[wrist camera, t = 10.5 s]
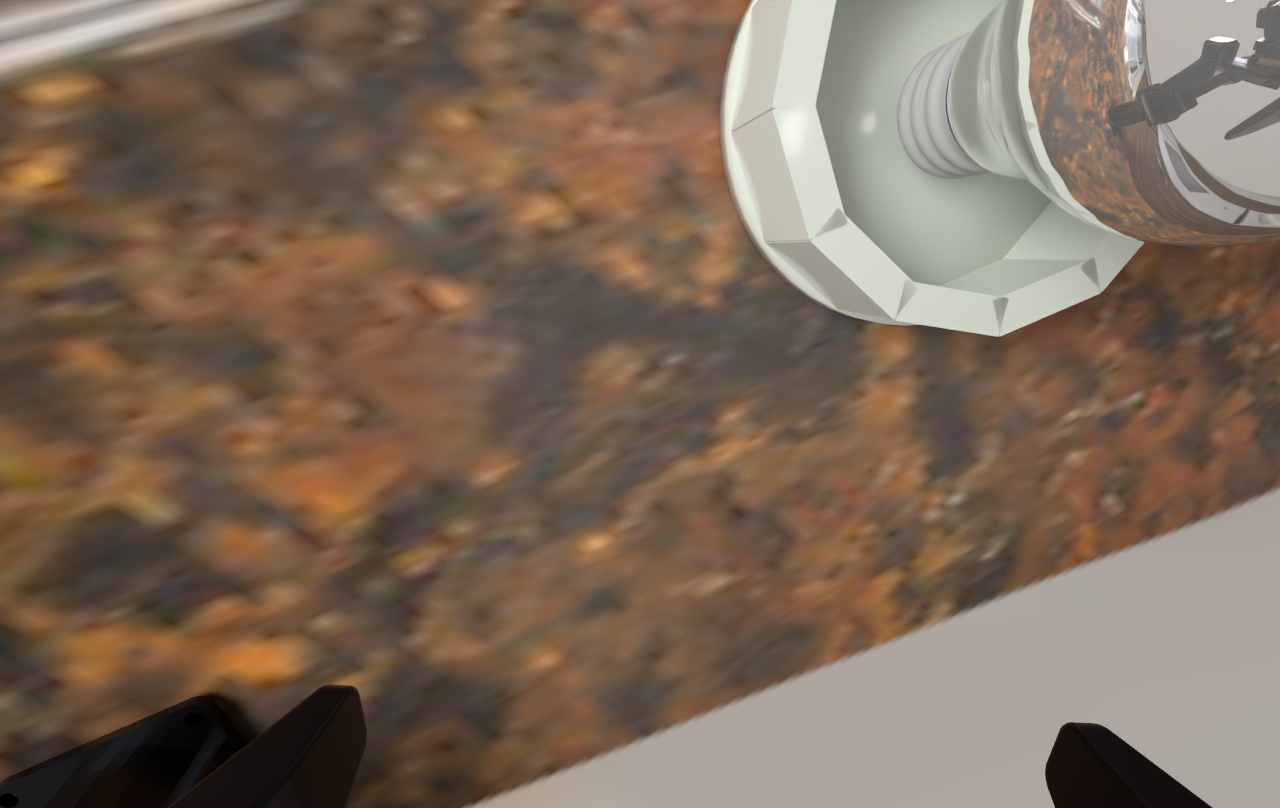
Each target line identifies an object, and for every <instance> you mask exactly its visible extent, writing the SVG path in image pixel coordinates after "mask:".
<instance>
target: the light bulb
mask: <svg viewBox="0 0 1280 808" xmlns="http://www.w3.org/2000/svg"><path fill="white" fill-rule="evenodd" d="M897 125H898V132H899V136H900V140H901V143H902V145H903V147H904V149H905V151H906V153H907V155H908V156H909V158H910V159H911V160H912V161H913V162H914V164H916V165H917V166H918V167H919V168H920V169H922V170H923V171H925V172H926V173H929V174H931V175H933V176H936V177H940V178H949V179H953V178H963V177H967V176H974V175H980V174H984V173H994V174H998V175H1002V176H1006V177H1010V178H1015V179H1027V180H1028V181H1029V182H1030V183H1032V184H1033V185H1034V186H1035V187H1036V188H1037V189H1038V190H1039V191H1040V192H1041V193H1042V194H1044V195H1045V196H1046V197H1047V198H1048V199H1049V200H1051V201H1052V202H1053V203H1055V204H1056V205H1057V206H1059V207H1060V208H1061V209H1063V210H1064V211H1065V212H1067V213H1069V214H1071V215H1073V216H1074V217H1076V218H1078V219H1080V220H1082V221H1084V222H1085V223H1087V224H1089V225H1091V226H1094V227H1096V228H1099V229H1102V230H1105V231H1108V232H1111V233H1113V234H1116V235H1119V236H1123V237H1127V238H1131V239H1135V240H1139V241H1143V242H1147V243H1153V244H1163V245H1173V246H1183V247H1227V246H1237V245H1247V244H1258V243H1268V242H1273V241H1277V240H1280V0H1003V1H1002V2H1000V3H999V4H998V5H996V6H995V7H994V8H993V9H992V10H991V11H990V12H989V13H988V14H987V15H986V16H985V17H984V18H983V19H982V20H981V21H980V22H979V23H978V24H977V25H976V26H975V27H974V29H973V30H972V31H970V32H968V33H966V34H965V35H963V36H960V37H958V38H956V39H954V40H952V41H950V42H949V43H947V44H944V45H942V46H940V47H938V48H936V49H934V50H933V51H931V52H930V53H928V54H927V55H926V56H925V57H923V58H922V59H921V60H920V61H919V62H918V63H917V65H916V66H915V67H914V68H913V70H912V71H911V73H910V74H909V76H908V77H907V79H906V81H905V83H904V86H903V88H902V91H901V94H900V98H899V102H898V109H897Z"/></svg>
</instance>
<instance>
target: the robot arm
mask: <svg viewBox="0 0 1280 808" xmlns="http://www.w3.org/2000/svg"><path fill="white" fill-rule="evenodd" d="M194 712H195V713H199V714H201V715H202V716H203V718H198V717H195V716H194V715H193V714H192V713H194ZM366 740H367V728H366V723H365V719H364V714H363V709H362V704H361V700H360V695H359V692H358V690H357V689H356V688H355V687H353V686H344V685H325V686H323V687H321V688H319V689H318V690H316V691H315V692H314V693H312V694H311V695H310V696H308V697H307V698H306V699H305V700H303V701H302V702H301V703H300V704H298V705H297V706H296V707H295V708H293V709H292V710H291V711H290V712H288V713H287V714H286V715H284V716H283V717H282V718H281V719H279V720H278V721H277V722H276V723H274V724H273V725H272V726H271V727H269V728H268V729H267V730H265V731H264V732H263V733H262V734H260V735H259V736H258V737H257V738H255V739H254V740H253V741H252V742H250V743H249V744H248V745H246V744H245V742H244V741H243V739H242V738H241V737H240V735H239V734H238V732H237V731H236V730H235V728H234V727H233V725H232V724H231V722H230V721H229V720H228V718H227V717H226V715H225V714H224V713H223V711H222V710H221V708H220V707H219V706H218V704H217V703H216V702H215V701H214V700H213V699H211V698H208V697H204V696H197V697H193V698H190V699H188V700H186V701H183V702H181V703H179V704H177V705H174V706H172V707H170V708H167V709H165V710H163V711H160V712H158V713H156V714H153V715H151V716H149V717H146V718H144V719H142V720H139V721H137V722H135V723H133V724H130V725H128V726H126V727H123V728H121V729H119V730H116V731H114V732H112V733H109V734H107V735H105V736H102V737H100V738H98V739H95V740H93V741H91V742H89V743H86V744H84V745H82V746H79V747H77V748H75V749H72V750H70V751H68V752H65V753H63V754H61V755H58V756H56V757H54V758H51V759H49V760H47V761H45V762H42V763H40V764H38V765H35V766H33V767H31V768H28V769H26V770H24V771H21V772H19V773H17V774H14V775H12V776H10V777H8V778H6V779H5V780H3V781H2V782H1V783H0V808H345V807H346V804H347V801H348V798H349V795H350V792H351V789H352V786H353V783H354V780H355V777H356V774H357V771H358V768H359V765H360V762H361V759H362V756H363V753H364V750H365V746H366ZM1045 776H1046V782H1047V786H1048V790H1049V792H1050V795H1051V798H1052V800H1053V803H1054V806H1055V808H1212V807H1211V806H1209V805H1208V804H1207V803H1205V802H1204V801H1203V800H1201V799H1200V798H1199V797H1198V796H1196V795H1195V794H1193V793H1192V792H1191V791H1190V790H1188V789H1187V788H1186V787H1184V786H1183V785H1182V784H1180V783H1179V782H1178V781H1176V780H1175V779H1174V778H1172V777H1171V776H1170V775H1168V774H1167V773H1166V772H1164V771H1163V770H1162V769H1160V768H1159V767H1158V766H1156V765H1155V764H1154V763H1152V762H1151V761H1150V760H1148V759H1147V758H1146V757H1145V756H1143V755H1142V754H1141V753H1139V752H1138V751H1137V750H1135V749H1134V748H1132V747H1131V746H1130V745H1129V744H1127V743H1126V742H1125V741H1123V740H1122V739H1121V738H1119V737H1118V736H1117V735H1115V734H1114V733H1112V732H1111V731H1110V730H1109V729H1107V728H1105V727H1103V726H1102V725H1098V724H1093V723H1074V722H1070V723H1066V724H1065V725H1063V726H1062V727H1061V729H1060V731H1059V734H1058V736H1057V738H1056V741H1055V743H1054V746H1053V748H1052V751H1051V754H1050V756H1049V758H1048V761H1047V764H1046V770H1045ZM13 794H14V795H16V796H14V795H13Z"/></svg>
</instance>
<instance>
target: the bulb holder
mask: <svg viewBox="0 0 1280 808" xmlns="http://www.w3.org/2000/svg"><path fill="white" fill-rule="evenodd" d="M1002 1H1003V0H750V2H749V4H748V6H747V8H746V10H745V12H744V14H743V16H742V18H741V20H740V22H739V24H738V27H737V30H736V33H735V36H734V38H733V41H732V44H731V47H730V50H729V54H728V58H727V62H726V67H725V71H724V75H723V80H722V89H721V98H720V107H719V139H720V147H721V155H722V163H723V169H724V173H725V177H726V181H727V185H728V189H729V193H730V196H731V199H732V201H733V204H734V207H735V209H736V212H737V214H738V217H739V219H740V221H741V223H742V225H743V227H744V229H745V231H746V232H747V234H748V236H749V238H750V240H751V242H752V243H753V245H754V246H755V247H756V249H757V250H758V252H759V253H760V254H761V256H762V257H763V258H764V260H765V261H766V263H767V264H768V265H769V266H770V267H771V268H772V269H773V270H774V271H775V272H776V273H777V274H778V275H779V276H780V277H781V278H782V279H783V280H784V281H785V282H786V283H787V284H789V285H790V286H791V287H792V288H794V289H795V290H796V291H798V292H799V293H800V294H801V295H803V296H804V297H806V298H808V299H810V300H811V301H813V302H815V303H817V304H818V305H820V306H822V307H824V308H827V309H829V310H832V311H834V312H837V313H839V314H842V315H845V316H849V317H854V318H858V319H862V320H867V321H872V322H877V323H881V324H892V325H905V326H907V325H926V326H933V327H939V328H945V329H952V330H958V331H965V332H971V333H978V334H984V335H990V336H997V337H998V336H1003V335H1005V334H1007V333H1010V332H1012V331H1014V330H1017V329H1019V328H1021V327H1024V326H1026V325H1028V324H1030V323H1033V322H1035V321H1037V320H1040V319H1042V318H1044V317H1047V316H1049V315H1051V314H1054V313H1056V312H1058V311H1061V310H1063V309H1065V308H1068V307H1070V306H1072V305H1075V304H1077V303H1079V302H1082V301H1084V300H1086V299H1089V298H1091V297H1093V296H1096V295H1098V294H1100V292H1103V290H1104V289H1105V288H1106V287H1107V286H1108V285H1109V283H1110V282H1111V281H1112V280H1113V279H1114V278H1115V276H1116V275H1117V274H1118V273H1119V272H1120V271H1121V269H1122V268H1123V267H1124V266H1125V265H1126V263H1127V262H1128V261H1129V260H1130V259H1131V258H1132V256H1133V255H1134V254H1135V253H1136V252H1137V251H1138V249H1139V248H1140V247H1141V246H1142V245H1143V244H1144V242H1143V241H1139V240H1135V239H1131V238H1127V237H1123V236H1119V235H1116V234H1113V233H1111V232H1108V231H1105V230H1102V229H1099V228H1096V227H1094V226H1091V225H1089V224H1087V223H1085V222H1084V221H1082V220H1080V219H1078V218H1076V217H1074V216H1073V215H1071V214H1069V213H1067V212H1065V211H1064V210H1063V209H1061V208H1060V207H1059V206H1057V205H1056V204H1055V203H1053V202H1052V201H1051V200H1049V199H1048V198H1047V197H1046V196H1045V195H1044V194H1042V193H1041V192H1040V191H1039V190H1038V189H1037V188H1036V187H1035V186H1034V185H1033V184H1032V183H1030V182H1029V181H1028V180H1027V179H1015V178H1010V177H1006V176H1002V175H998V174H994V173H984V174H980V175H974V176H967V177H963V178H953V179H949V178H940V177H936V176H933V175H931V174H929V173H926V172H925V171H923V170H922V169H920V168H919V167H918V166H917V165H916V164H914V162H913V161H912V160H911V159H910V158H909V156H908V155H907V153H906V151H905V149H904V147H903V145H902V143H901V140H900V136H899V132H898V125H897V109H898V102H899V98H900V94H901V91H902V88H903V86H904V83H905V81H906V79H907V77H908V76H909V74H910V73H911V71H912V70H913V68H914V67H915V66H916V65H917V63H918V62H919V61H920V60H921V59H922V58H923V57H925V56H926V55H927V54H928V53H930V52H931V51H933V50H934V49H936V48H938V47H940V46H942V45H944V44H947V43H949V42H950V41H952V40H954V39H956V38H958V37H960V36H963V35H965V34H966V33H968V32H970V31H972V30H973V29H974V27H975V26H976V25H977V24H978V23H979V22H980V21H981V20H982V19H983V18H984V17H985V16H986V15H987V14H988V13H989V12H990V11H991V10H992V9H993V8H994V7H995V6H996V5H998V4H999V3H1000V2H1002Z"/></svg>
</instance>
